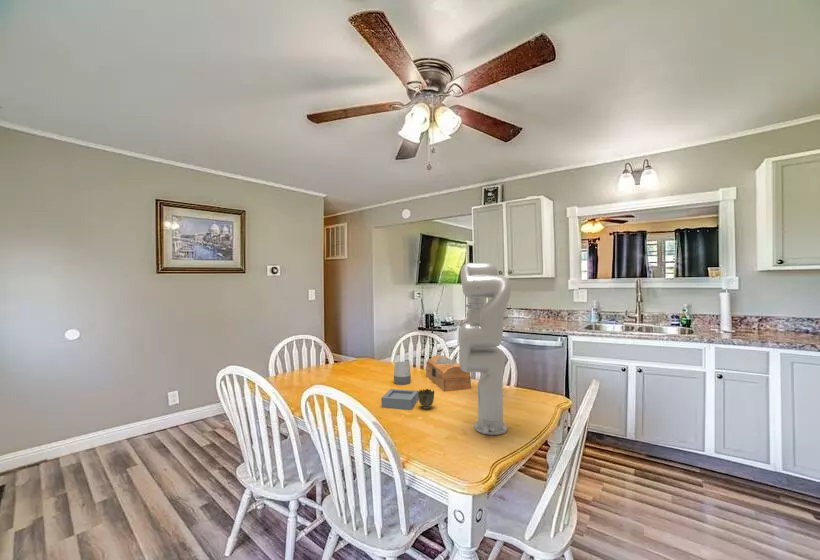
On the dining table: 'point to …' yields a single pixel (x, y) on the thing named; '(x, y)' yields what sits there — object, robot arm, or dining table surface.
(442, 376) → the wooden box
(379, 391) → the dining table surface
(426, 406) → the cup
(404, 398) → the grey square tray
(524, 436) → the dining table surface
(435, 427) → the dining table surface
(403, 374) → the smart speaker
